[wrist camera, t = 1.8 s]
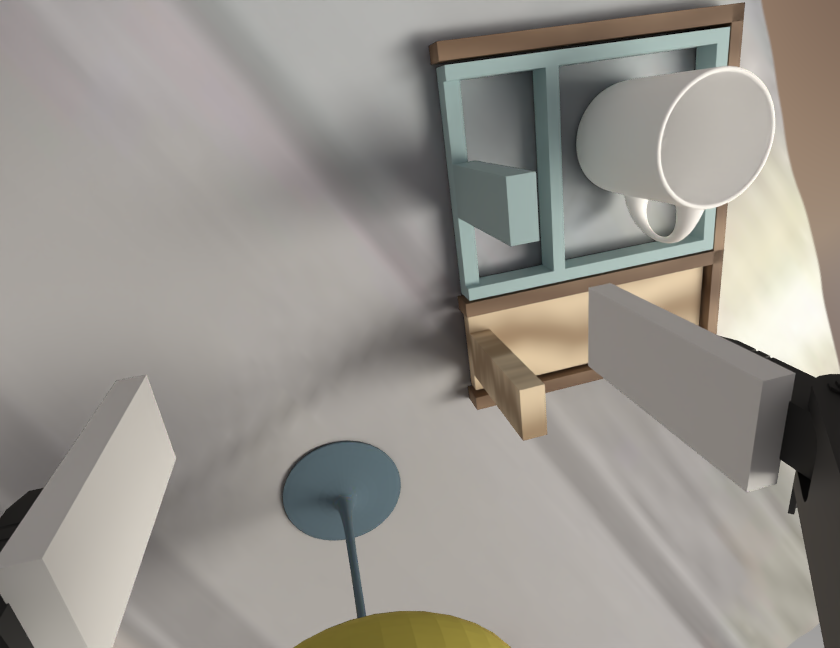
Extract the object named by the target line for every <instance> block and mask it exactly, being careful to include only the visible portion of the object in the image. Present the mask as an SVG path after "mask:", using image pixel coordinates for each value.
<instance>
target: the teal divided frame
mask: <svg viewBox="0 0 840 648" xmlns="http://www.w3.org/2000/svg"><path fill="white" fill-rule="evenodd" d="M729 35H730V27H724V28H717V29H709V30H702V31H694V32H687V33H680V34H672V35H665V36H657V37H650V38H642V39H635V40H628V41H620V42H613V43H605V44H598V45H590V46H583V47H576V48H568V49H561V50H553V51H546V52H538V53H531V54H524V55H516V56H509V57H501V58H494V59H487V60H479V61H472V62H464V63H457V64H449V65H444V66H441V67H439V68H436V71H437V80H438V89H439V98H440V107H441V116H442V124H443V133H444V142H445V151H446V160H447V169H448V178H449V187H450V196H451V205H452V214H453V223H454V232H455V240H456V249H457V258H458V267H459V276H460V285H461V293H462V294H463V295H464V296H465V297H466V298H467V299H468V300H469V301H471V300H476V299H481V298H485V297H490V296H495V295H499V294H504V293H509V292H514V291H518V290H523V289H528V288H532V287H537V286H542V285H546V284H551V283H556V282H560V281H565V280H570V279H575V278H579V277H584V276H589V275H593V274H598V273H603V272H607V271H612V270H617V269H622V268H626V267H631V266H636V265H640V264H645V263H650V262H654V261H659V260H664V259H669V258H673V257H678V256H683V255H687V254H692V253H697V252H701V251H706V250H711V249H713V240H714V227H715V215H716V207H715V208H712V209H705V210H704V212H703V214H702V215H701V217H700V219H699V221H698V223H697V224H696V226H695V227H694V229H693V230H692V231H691V233H690V234H689V235H688V236H686V237H685V238H684V239H682V240H681V241H679V242H676V243H662V242H659V241H655V242H651V243H646V244H641V245H636V246H631V247H626V248H621V249H617V250H612V251H607V252H602V253H597V254H592V255H587V256H583V257H578V258H573V259H568V260H565V247H564V216H563V184H562V153H561V121H560V90H559V67H560V66H567V65H574V64H581V63H588V62H595V61H602V60H609V59H617V58H624V57H631V56H638V55H645V54H652V53H659V52H666V51H674V50H681V49H688V48H695V47H697V53H696V70H699V69H707V68H714V67H721V66H727V61H728V48H729ZM531 70H533V88H534V108H535V129H536V149H537V169H538V190H539V210H540V231H541V251H542V265H539V266H534V267H529V268H524V269H520V270H515V271H510V272H505V273H500V274H495V275H490V276H486V277H481V278H479V272H478V262H477V251H476V241H475V231H474V227H476V228H478V229H480V230H481V231H483V232H485V233H487V234H489V235H491V236H493V237H494V238H496V239H498V240H500V241H502V242H504V243H506V244H507V245H509V246H515V245H520V244H526V243H531V242H536V241H539V224H538V204H537V184H536V171H530V170H525V169H519V168H514V167H508V166H503V165H497V164H492V163H486V162H480V161H470V162H468V159H467V149H466V138H465V128H464V118H463V107H462V97H461V87H460V80H467V79H474V78H481V77H488V76H496V75H503V74H510V73H517V72H524V71H531Z"/></svg>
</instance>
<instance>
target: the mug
mask: <svg viewBox="0 0 840 648" xmlns="http://www.w3.org/2000/svg"><path fill="white" fill-rule="evenodd" d="M774 132H775V111H774V106H773V102H772V98H771V95H770V93H769V91H768V89H767V88H766V86H765V85H764V83H763V82H762V81H761V80H760V79H759V78H758V77H757V76H756V75H755V74H753V73H752V72H750V71H748V70H746V69H744V68H740V67H736V66H721V67H714V68H707V69H699V70H692V71H685V72H678V73H671V74H664V75H657V76H649V77H642V78H635V79H629V80H625V81H621V82H618V83H616V84H614V85H612V86H610V87H608V88H606V89H605V90H603V91H602V92H601V93H599V94H598V95H597V96H596V97H595V98H594V99H593V101H592V102H591V103H590V104H589V106H588V107H587V109H586V111H585V112H584V115H583V117H582V119H581V121H580V124H579V127H578V132H577V138H576V150H577V156H578V161H579V163H580V166H581V168H582V170H583V172H584V174H585V175H586V176H587V178H588V179H589V180H590V181H591V182H592V183H594V184H595V185H596V186H598V187H600V188H602V189H604V190H607V191H610V192H614V193H618V194H622V195H624V197H625V201H626V205H627V208H628V210H629V213H630V215H631V217H632V219H633V221H634V222H635V224H636V225H637V226H638V227H639V228H640V229H641V230H642V231H643V232H644V233H645V234H646V235H648V236H649V237H651V238H652V239H654V240H656V241H659V242H662V243H676V242H679V241H681V240H682V239H684V238H685V237H686V236H688V235H689V234H690V233H691V231H692V230H693V229H694V227H695V226H696V224H697V223H698V221H699V219H700V217H701V215H702V214H703V212H704V210H705V209H712V208H715V207H719V206H721V205H724V204H726V203H728V202H730V201H731V200H733V199H735V198H736V197H737V196H739V195H740V194H741V193H743V192H744V191H745V190H746V189H747V188H748V187H749V186H750V185H751V183H752V182H753V181H754V180H755V178H756V177H757V176H758V174H759V173H760V171H761V169H762V168H763V166H764V164H765V162H766V160H767V158H768V155H769V152H770V150H771V146H772V142H773V138H774ZM648 200H652V201H658V202H663V203H668V204H672V205H675V206H676V223H675V228H674V230H673V232H672V233H671V234H670V235H669V236H666V237H662V236H659V235H657V234H656V233H655V232H654V231H653V230H652V229H651V227H650V225H649V223H648V220H647V215H646V208H647V203H648Z"/></svg>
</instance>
